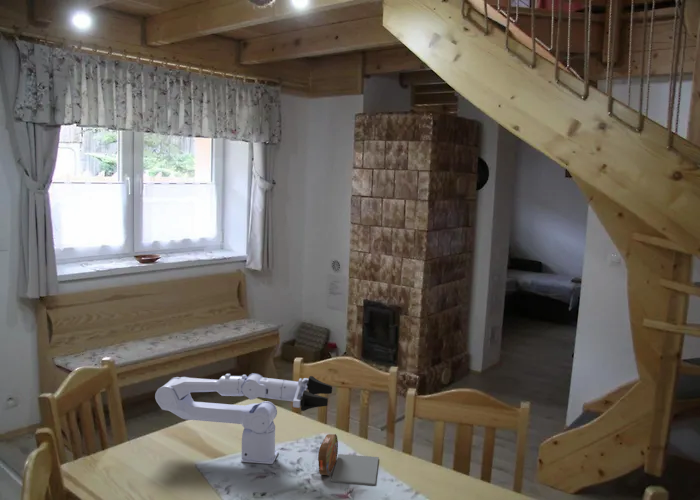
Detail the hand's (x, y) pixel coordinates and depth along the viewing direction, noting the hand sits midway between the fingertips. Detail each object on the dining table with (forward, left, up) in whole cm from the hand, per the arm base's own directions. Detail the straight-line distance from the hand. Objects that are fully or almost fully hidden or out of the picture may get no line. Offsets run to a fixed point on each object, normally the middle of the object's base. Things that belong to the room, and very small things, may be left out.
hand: (329, 395), depth 172 cm
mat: (+8, -3, -20) cm, 22 cm away
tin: (0, -3, -21) cm, 21 cm away
